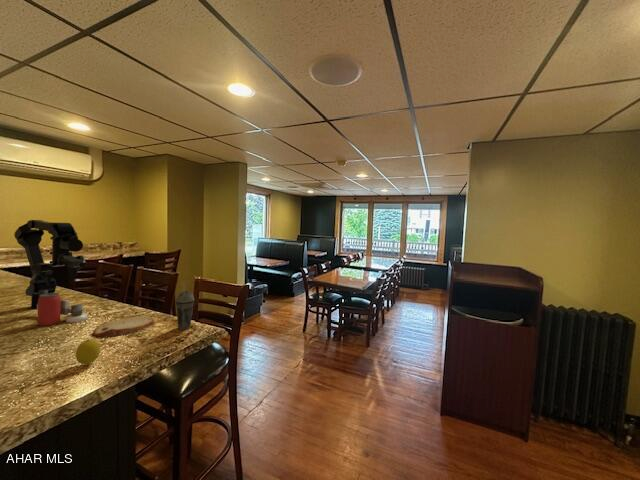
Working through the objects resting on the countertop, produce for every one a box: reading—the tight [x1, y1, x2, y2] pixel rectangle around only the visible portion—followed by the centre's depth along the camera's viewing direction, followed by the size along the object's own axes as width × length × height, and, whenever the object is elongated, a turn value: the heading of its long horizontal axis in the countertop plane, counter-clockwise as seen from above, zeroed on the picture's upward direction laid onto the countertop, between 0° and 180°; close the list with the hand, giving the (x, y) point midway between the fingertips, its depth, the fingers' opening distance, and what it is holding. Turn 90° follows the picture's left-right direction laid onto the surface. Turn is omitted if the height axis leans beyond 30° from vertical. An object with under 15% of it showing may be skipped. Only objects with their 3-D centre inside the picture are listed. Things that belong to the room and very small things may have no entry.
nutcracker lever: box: [36, 290, 84, 316], centre depth 117 cm, size 22×4×9 cm, turn 80°
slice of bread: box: [92, 315, 155, 339], centre depth 110 cm, size 18×18×4 cm
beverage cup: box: [175, 281, 195, 331], centre depth 114 cm, size 7×7×20 cm
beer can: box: [37, 292, 62, 327], centre depth 110 cm, size 7×7×12 cm
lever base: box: [65, 312, 88, 324], centre depth 115 cm, size 7×7×2 cm
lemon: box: [75, 338, 101, 366], centre depth 81 cm, size 6×6×8 cm
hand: (60, 283), depth 124 cm, fingers open, 9 cm apart
